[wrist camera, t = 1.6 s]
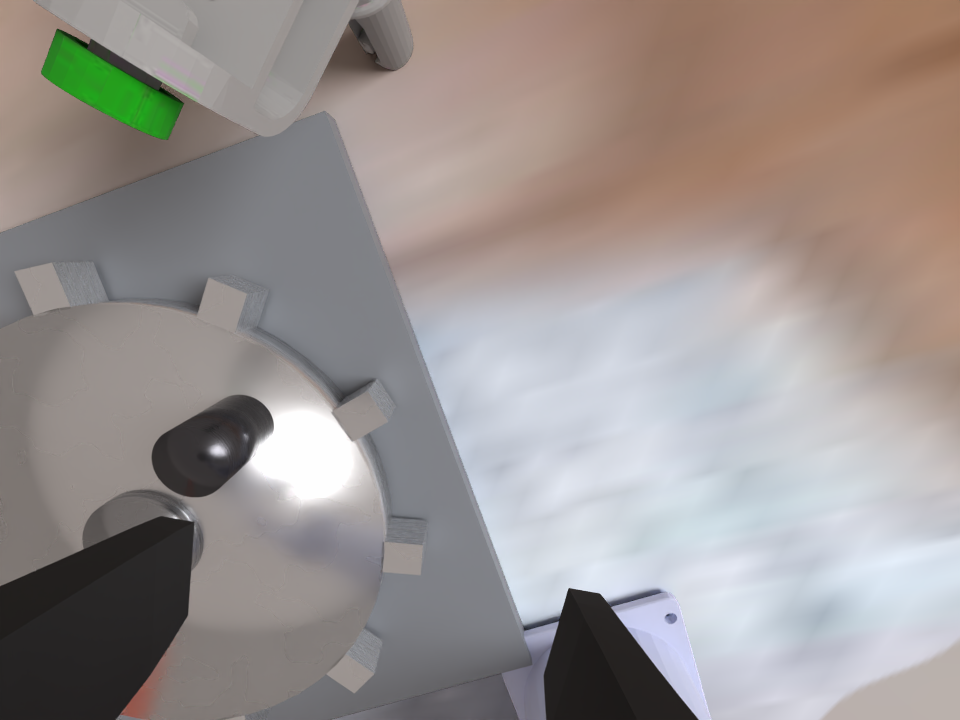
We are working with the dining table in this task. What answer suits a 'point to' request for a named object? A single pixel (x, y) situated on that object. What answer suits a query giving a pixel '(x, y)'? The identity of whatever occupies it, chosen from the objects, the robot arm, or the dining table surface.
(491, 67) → the dining table surface
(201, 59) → the mechanical component
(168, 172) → the index board
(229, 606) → the sprocket
